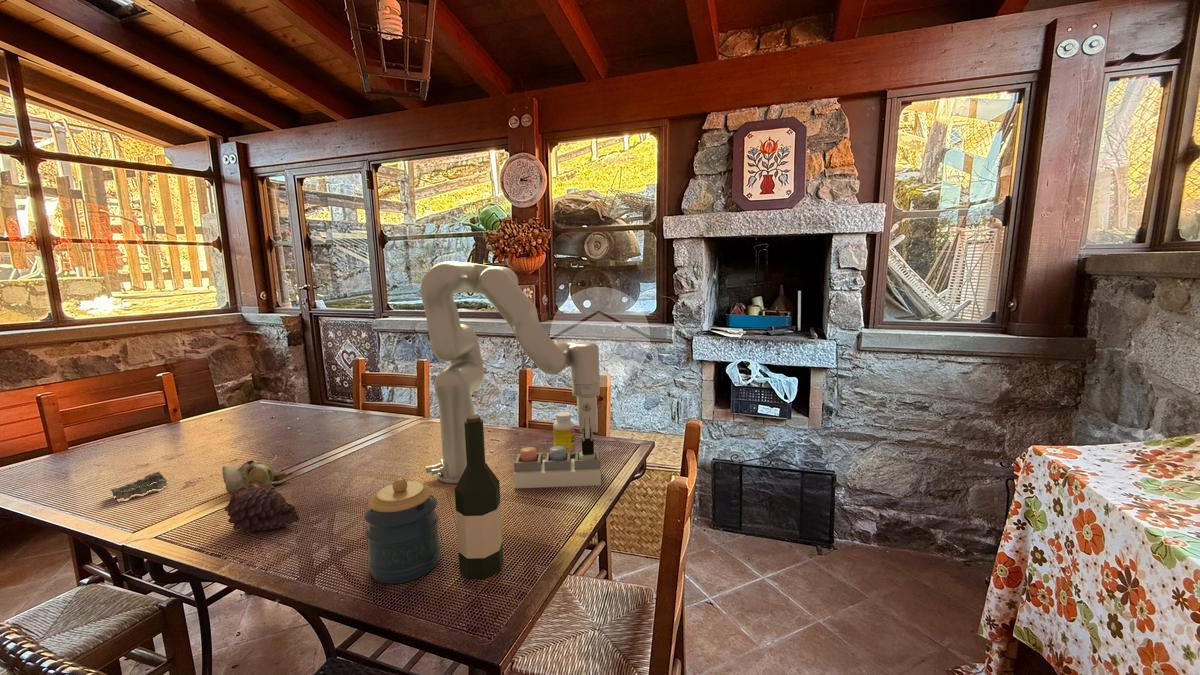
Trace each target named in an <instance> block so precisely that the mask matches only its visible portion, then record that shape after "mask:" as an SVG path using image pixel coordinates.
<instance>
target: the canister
mask: <svg viewBox="0 0 1200 675" xmlns="http://www.w3.org/2000/svg"><path fill="white" fill-rule="evenodd" d="M432 493H433V490H432V488H431V487H430V486H429V485H426V484H425V483H424V484H423V483H422V482H419V481H414V480H412V481H410V480H406V479H405V478H403V477H401V478H400V477H399V478H397V479H395V480H394V481H393V483H392V484H387V485H386V486H384V487H382V488H381V489H379V490H378V491H377V492H376V493H374V494H372V496H371V497H369V498H370V499H369V500H368V508H367V510H366V511H365V512H364V520H365V521H366V523H367V524H368V526H367V528H366V530H365V535H366V537H367V547H368V569H369V572H370V573H371V576H372V578H373V579H374V580H375V581H377V582H379V583H383V584H389V585H391V584H392V585H393V584H402V583H407V582H411V581H413V580H415V579H418V578H420V577H423V576H424V575H426V574H428V573H429V572H430V571H431V570H433V569H434V568H435V567H436V566H437V564H438V563H439V560H440V554H441V544H440V539H439V538H440V537H439V526H438V525H439V524H438V521H439V516H438V514H437V512H436V508H437V505H438V500H437V498H436V497H435V496H434V495H433V494H432Z"/></svg>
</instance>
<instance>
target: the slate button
mask: <svg viewBox="0 0 1200 675" xmlns="http://www.w3.org/2000/svg"><path fill="white" fill-rule="evenodd" d="M549 453H550V461H563V460H566V448H565V447H563V446H554V445H553V446H552V447H550V448H549Z"/></svg>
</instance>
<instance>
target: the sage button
mask: <svg viewBox="0 0 1200 675" xmlns="http://www.w3.org/2000/svg"><path fill="white" fill-rule="evenodd" d="M579 452H580V453H579V460H592V459H595V452H594V454H593V455H583V454H582V451H579Z"/></svg>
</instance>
